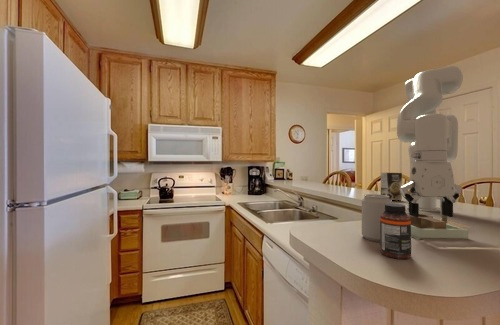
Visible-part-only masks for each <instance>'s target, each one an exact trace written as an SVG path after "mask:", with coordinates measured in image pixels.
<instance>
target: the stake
mask: <svg viewBox="0 0 500 325" xmlns="http://www.w3.org/2000/svg"><path fill="white" fill-rule="evenodd" d="M439 200H440V201H439V202H440V203H439V204H440V205H439V208H440V211H439V212H440V213H439V214H440V219H439V220H441V221H444V222H446V223H447V224H450V225H453V226H457V227H460V228H463V229H470V228H473V227H471V226H468V225H465V224H461V223H457V222H454V221H450V220H448V216H445V215H442V201H444V200H443V199H442V197H439Z"/></svg>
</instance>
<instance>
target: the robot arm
mask: <svg viewBox="0 0 500 325" xmlns="http://www.w3.org/2000/svg"><path fill="white" fill-rule="evenodd" d="M463 78H464V77H463V72H462V70H461V69H460V67H458V66H455V65H450V66H444V67H438V68H432V69H427V70H423V71H421V72H419V73H417V74H416V75H415V76H414V78H411V79H409V80H407V81H406V82H405V83H404V93H405V96H406V98H407V100H408V102H407V103H406V104H404V106H403V107H402V108H401V110H400V111H399V112H398V115H397V120H396V121H397V122H396V135H397V138H398V140H399V141H400V142H402V143H409V145H408V155H409V156H408V157H409V162H410V175H409V182H408V183H406V184H404V185H403V184H402V187H400V188H399V189H400V191H401V193H402V198H404V199H405V200H406V202H408V205H407V206H406V208H407V210H408V213H409V215H411V216H414V217H419V214H420V212H421V211H422V212H440V207H438V204H437V203H438V202H437V201H438V199H437V198H440V197H442V199H443V200H444V201H442V215H445V216H447V218H448V217H449V218H453V217H454V204H455V203H456V201H457V199H458V198H459V197H460V194H461V192H462V190H463V187H462V186H460V185H458V184H456V183H455V179H454V177H455V176H454V172H453V166H452V165H451V162H452V161H455V160H456V158H457V156H458V150H459V149H458V148H459V121H458V118H457V117H456V115H454V114H443V113H436V111H437V110H436V109H438V108H439V107H440V105H442V102H443V96H444V95H446V96H447V95H451V94H454V93H455V92H457V91H458V90H460V88H461V86H462V83H463ZM419 211H420V212H419Z"/></svg>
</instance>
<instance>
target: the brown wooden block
mask: <svg viewBox="0 0 500 325" xmlns="http://www.w3.org/2000/svg"><path fill="white" fill-rule="evenodd" d="M406 214H407V215H408V216H410V218H411V225H412V226H415V227H418V228H420V229H446V222H444V221H441V220H440V219H439V218H438V219H437V218H434V216H433V215H429V214H427V213H426V214H424V213H419V217H414V216H411V215H409V212H406Z"/></svg>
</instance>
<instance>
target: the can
mask: <svg viewBox="0 0 500 325" xmlns="http://www.w3.org/2000/svg"><path fill="white" fill-rule="evenodd" d="M363 196H364V197H363V198H362V199H361V235H362V236H363V237H364V238H365V239H366V240H368V241H372V242H375V243H376V242H379V243H380V215H381V214H382V213H384V211H385V204H387V203H393V201H391V200H390V199H389V196H387V195H381V194H377V193H374V194H373V193H372V194H371V193H370V194H369V193H367V194H364V195H363Z"/></svg>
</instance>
